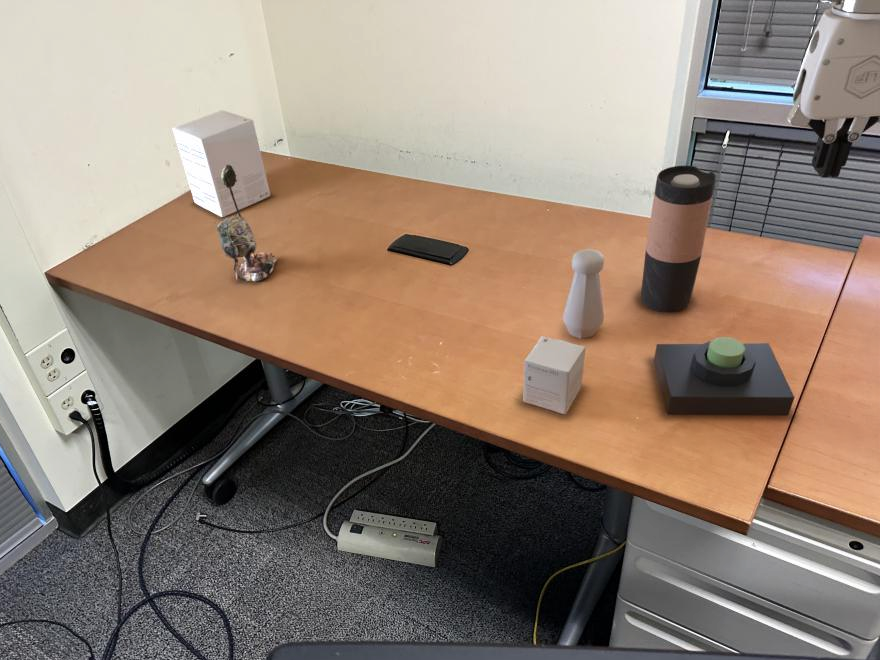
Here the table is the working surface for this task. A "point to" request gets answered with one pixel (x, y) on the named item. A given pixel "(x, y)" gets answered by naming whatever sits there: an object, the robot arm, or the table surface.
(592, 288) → the salt shaker
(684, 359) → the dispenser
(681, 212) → the travel mug
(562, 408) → the product box
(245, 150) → the supplement box
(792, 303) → the table surface
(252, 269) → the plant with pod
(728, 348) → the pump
